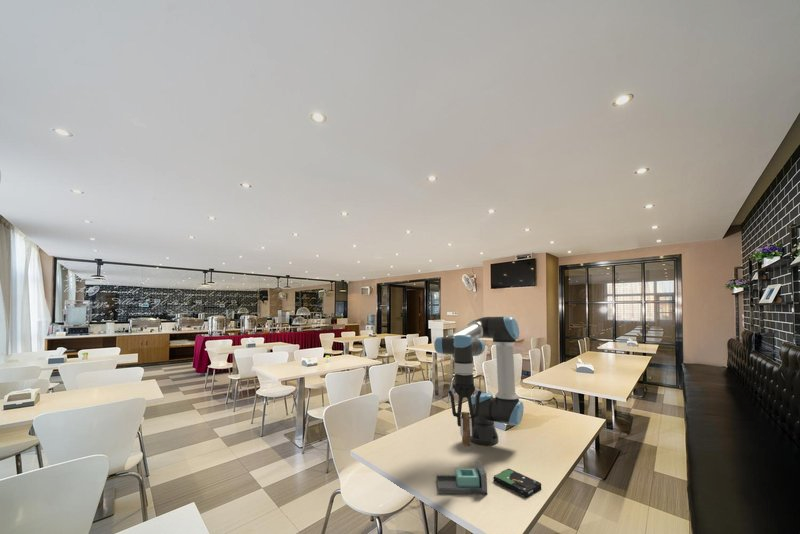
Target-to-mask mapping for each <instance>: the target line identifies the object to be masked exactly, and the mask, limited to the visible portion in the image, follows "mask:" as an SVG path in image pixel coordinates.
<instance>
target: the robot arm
mask: <svg viewBox="0 0 800 534" xmlns="http://www.w3.org/2000/svg"><path fill="white" fill-rule="evenodd" d="M482 338H483V339H484V338H485V339H492V343H493V344H494V345H495V350H496V351H495V352H496V374H497V393H496V394H495V396H494V395H493V394H492V393H490V392H482V391H481V390H480V389H478V388H476V386H475V383H474V380H475V379H474V374H473V373H474V361H473V359H474V358H473V357H478V356H480V355H482V354H483V353H484V352H485V349H486V344H485V342H484V341H483V340H482ZM519 338H520V329H519V324H518V321H517V320H516V318H514V317H513V316H483V317H479V318H477V319H474V320H472V321H470V322H469V323H468V324H467V326H464V327H463V328H461V329H459V330H457V331H455V332H454V333H451V334H450V335H448V336H438V337H436V338H435V340H434V345H433V346H434V350H435V352H436V353H437V354H442V355H453V360H454V363H453V364H454V365H453V366H454V373H455V374H454V386H453V388H451V389H448V390H447V391H448V394H449V397H450V403H451V404H450V405H451V411H452V413H451V414H452V415H453V416H454V417H456V419H457V421H456V422H457V426H458V427H459V428H460V429H459V431H460V432H459V433H460V436H461V437H462V436H463V418H462V416H461V412H462V410H463V409H462V408H463V401H464V398H466V400H467V404H468V410H469V411H468V412H469V413H470V418H469V424H470V443H473V444H475V445H476V444H477V445H481V446H494V445H496V444H498V443H499V435H498V431H497V428H496V426H495V422H496V423H500V424H504V425H509V426H519V425H520V424H521V423H522V420H523V417H524V408H525V407H524V402H522V401H521V400H520V398H519V395H517V392H516V379H515V378H516V377H515V361H514V360H515V359H514V346H515V344H516V342H517V341H516V340H518V339H519ZM455 393H456V394H457V396H458V401H457V411H456V404H455V396H454V395H455Z"/></svg>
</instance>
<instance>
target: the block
mask: <svg viewBox="0 0 800 534" xmlns="http://www.w3.org/2000/svg"><path fill="white" fill-rule="evenodd" d="M455 475H456V481H457V485H458V487H480V483H479V476H478V473H477V471H476V468H469V467H468V468H463V467H461V468H457V467H456V468H455Z"/></svg>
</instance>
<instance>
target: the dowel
mask: <svg viewBox="0 0 800 534" xmlns="http://www.w3.org/2000/svg"><path fill="white" fill-rule="evenodd" d="M461 416H462V418H463V436H461V445H462V446H463V447H467V448H468V447H471V443H472V442H471V441H470V424H469V418H470V411H461Z"/></svg>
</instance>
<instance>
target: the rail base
mask: <svg viewBox="0 0 800 534" xmlns="http://www.w3.org/2000/svg"><path fill="white" fill-rule="evenodd" d="M475 469H476V471H477V473H478V476H479V483H480V487H458V485H457V481H456V474H455V475H453V474H448V475H447V474H443V475H442V474H437V475H436V484H437V490H438V495H488V482H487V481H488V479H487V476H488V475H487V472H486V469H485V467H484V465H483V463H482V462H481V461H475Z"/></svg>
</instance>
